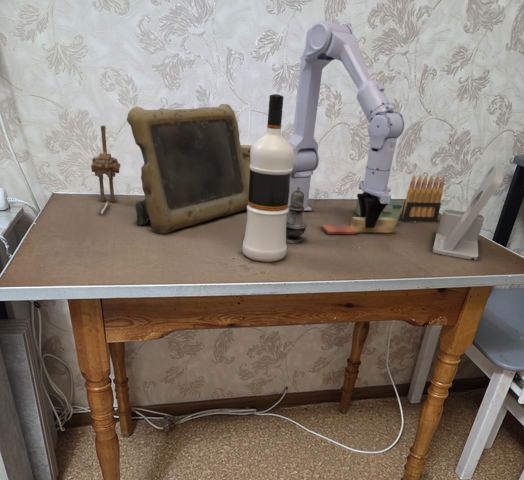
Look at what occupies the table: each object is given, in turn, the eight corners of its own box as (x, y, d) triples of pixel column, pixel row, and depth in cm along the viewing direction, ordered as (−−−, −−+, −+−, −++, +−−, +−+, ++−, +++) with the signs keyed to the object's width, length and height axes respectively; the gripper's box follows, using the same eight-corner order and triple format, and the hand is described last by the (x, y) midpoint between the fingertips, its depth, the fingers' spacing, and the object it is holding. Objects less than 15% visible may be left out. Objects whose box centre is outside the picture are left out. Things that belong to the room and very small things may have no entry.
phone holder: (436, 232, 125) (455, 159, 116) (477, 239, 122) (500, 165, 113) (432, 252, 111) (453, 170, 102) (478, 260, 108) (504, 177, 99)
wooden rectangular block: (328, 233, 117) (330, 220, 115) (321, 227, 121) (323, 214, 119) (396, 234, 121) (398, 221, 119) (387, 228, 125) (390, 215, 123)
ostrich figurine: (97, 197, 130) (90, 124, 121) (123, 198, 132) (117, 126, 122) (86, 214, 116) (77, 133, 107) (115, 215, 117) (108, 135, 108)
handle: (231, 201, 137) (233, 144, 129) (252, 201, 139) (256, 145, 131) (234, 205, 133) (237, 147, 125) (257, 205, 135) (261, 148, 127)
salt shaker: (298, 245, 108) (304, 191, 102) (275, 239, 111) (280, 186, 104) (309, 239, 112) (316, 186, 106) (287, 234, 115) (293, 182, 109)
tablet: (173, 238, 106) (170, 112, 93) (127, 225, 112) (118, 104, 99) (253, 210, 130) (259, 107, 118) (211, 200, 136) (213, 101, 123)
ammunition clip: (402, 221, 132) (413, 175, 126) (399, 219, 134) (409, 174, 128) (437, 221, 135) (448, 176, 129) (433, 219, 136) (445, 175, 130)
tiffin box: (370, 225, 127) (375, 201, 123) (353, 212, 137) (357, 189, 134) (398, 225, 128) (403, 201, 125) (379, 212, 138) (384, 190, 135)
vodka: (233, 251, 102) (240, 91, 86) (268, 245, 107) (281, 92, 91) (258, 266, 96) (271, 96, 80) (294, 259, 101) (313, 97, 85)
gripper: (407, 175, 108) (394, 234, 115) (381, 163, 120) (370, 217, 127) (378, 174, 107) (367, 234, 114) (354, 162, 119) (345, 216, 126)
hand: (367, 225), depth 121 cm, fingers closed on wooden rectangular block, 2 cm apart
